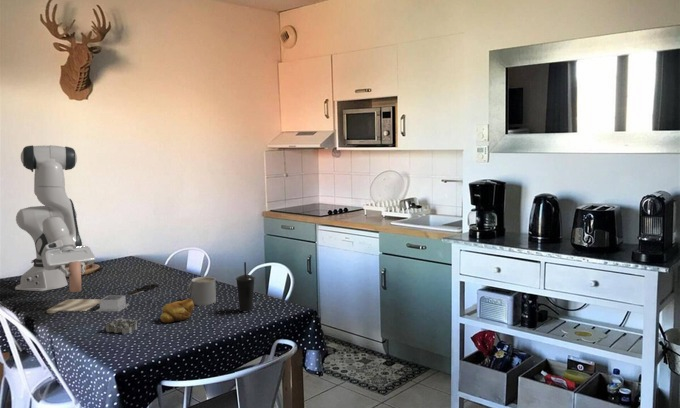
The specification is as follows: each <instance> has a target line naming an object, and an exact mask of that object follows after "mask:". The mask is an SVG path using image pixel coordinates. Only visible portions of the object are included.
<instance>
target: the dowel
mask: <svg viewBox="0 0 680 408" xmlns="http://www.w3.org/2000/svg"><path fill="white" fill-rule="evenodd" d="M68 270H70V272H71V275H70V276H68V278H69V279H68V280H69V281H68V282H69V283H68V284H69V292H70V293H79V292H81V291H82V274H81V262H80V261H74V262H69V268H68Z"/></svg>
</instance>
